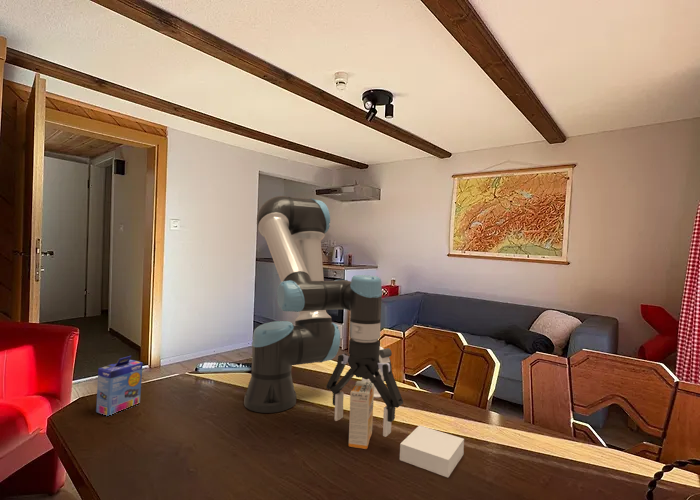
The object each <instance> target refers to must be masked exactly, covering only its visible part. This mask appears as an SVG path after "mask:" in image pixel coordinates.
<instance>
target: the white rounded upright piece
mask: <svg viewBox="0 0 700 500" xmlns="http://www.w3.org/2000/svg"><path fill="white" fill-rule="evenodd" d="M392 355H393V353H392V350H391V348H389V347H387V348H384V347H382V346H381V345H380V355H379V361H380V363H388V362H390V363H391V364H392V361H391V356H392ZM378 372H379V373H380V375H381V378H382V380H383V382H384V383H385V379H384V377H383V373H382V372H381V369H380V368H379V370H378ZM374 377H375V375H374ZM361 381H364V382H371V381H370V380H369V379H364V378H362V377H361ZM374 398H375V399H376V398H382V397H381V396H380V394H379V392H378V391H377V389H376V387H375V386H374Z"/></svg>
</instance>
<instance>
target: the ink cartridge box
mask: <svg viewBox="0 0 700 500" xmlns="http://www.w3.org/2000/svg"><path fill="white" fill-rule="evenodd" d="M131 357H132V355H129V356H125V357H120V358H118V360H117V362H116V363H111V364H108V365H104V366H102V367H98V369H97V385H96V386H97V387H96V388H97V389H96V406H95V407H96V408H95V412H96V413H98V414H100V415H102V414H103V415H102V416H104V415H106V416H105V417H107V416H109V415H111V416H113V415H112V414H114V413H116V412H118V411H121V410H123V409H126V408H128V407H130V406H133V405H135V404H138V403H140V404H141V396H142V395H141V392H142V379H143V378H142V377H143V362H141V361H138V360H135V359H131ZM126 410H127V409H126ZM121 412H122V411H121ZM116 414H117V413H116ZM114 415H115V414H114ZM109 417H110V416H109Z"/></svg>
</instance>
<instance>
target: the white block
mask: <svg viewBox="0 0 700 500" xmlns="http://www.w3.org/2000/svg"><path fill="white" fill-rule="evenodd" d="M464 448H465V438H463V437H460V436H456V435H453V434H450V433H445V432H444V431H443V432H442V431H439V430H437V429H433V428H430V427H427V426H423V425H418V426H417V427H416V428H415V429H414V430H413V431H412V432H411V433H410V434H408V436H406V437H405V439H404V440H402V441H401V442H400V444H399V461H401V462H404V463H407V464H410V465H413V466H415V467H417V468H420V469H424V470H427V471H429V472H431V473H433V474H437V475H440V476H442V477H445V478H449V477H450V476H451V474H452V473H453V471H454V470H455V468H456V467H457V465H458V464H459V462H460V461H461V459H462V458H463V456H464V454H465V453H464Z"/></svg>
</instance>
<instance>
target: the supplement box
mask: <svg viewBox="0 0 700 500" xmlns="http://www.w3.org/2000/svg"><path fill="white" fill-rule="evenodd" d="M373 417H374V384H373V383H371V382H364V381H362V380H357V381H356V382H355V383H354V385H353V387H352V388H351V391H350V396H349V421H348V422H349V428H348V447H351V448H354V449H355V448H356V449H364V450H367V449H368V447H369V443H370V439H371V437H372V434H373V420H374V418H373Z"/></svg>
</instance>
